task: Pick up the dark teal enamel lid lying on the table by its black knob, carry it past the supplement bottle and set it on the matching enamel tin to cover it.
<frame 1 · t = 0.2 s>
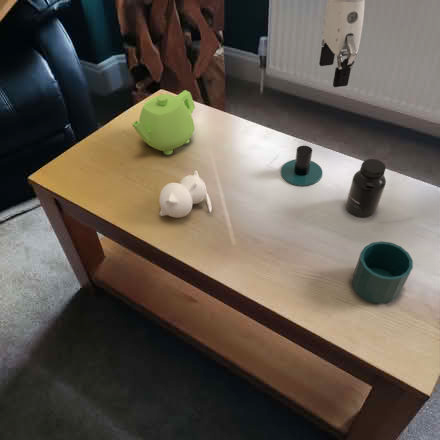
hand: (332, 75, 96), 19 cm above the table, tool pointing down, fingers open, 9 cm apart
teapot: (168, 142, 116), on the table
cat figurine: (187, 211, 100), on the table
lid: (301, 173, 105), point 1 cm above the table
supplement bottle: (360, 210, 98), on the table
tin: (376, 284, 84), on the table
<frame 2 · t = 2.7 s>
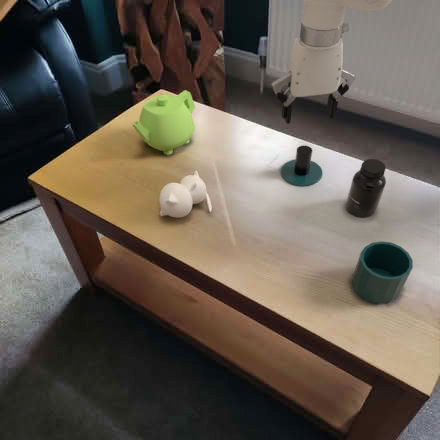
hand: (308, 117, 94), 15 cm above the table, tool pointing down, fingers open, 9 cm apart
nothing on the table moved.
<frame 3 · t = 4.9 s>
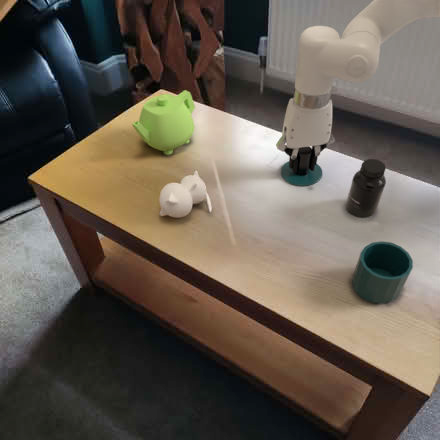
hand: (302, 167, 104), 2 cm above the table, tool pointing down, fingers closed on lid, 3 cm apart
lid: (301, 172, 105), point 1 cm above the table, touching gripper
everything else where it was.
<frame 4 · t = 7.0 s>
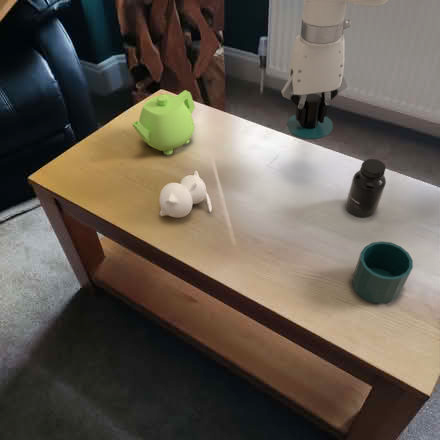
hand: (310, 120, 94), 15 cm above the table, tool pointing down, fingers closed on lid, 3 cm apart
lid: (309, 126, 95), point 13 cm above the table, touching gripper
everything else where it was.
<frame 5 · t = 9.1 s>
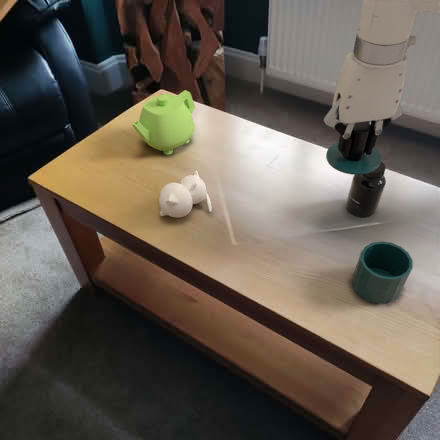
hand: (354, 151, 79), 19 cm above the table, tool pointing down, fingers closed on lid, 3 cm apart
lid: (353, 158, 81), point 18 cm above the table, touching gripper
everything else where it was.
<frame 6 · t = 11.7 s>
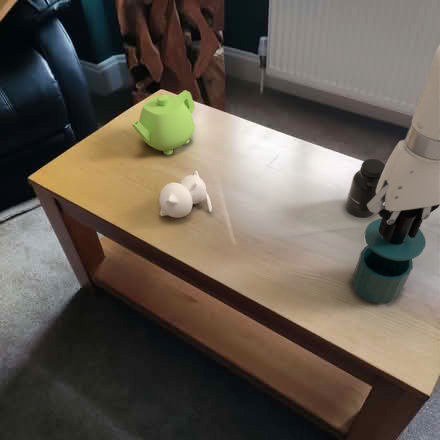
hand: (396, 233, 73), 14 cm above the table, tool pointing down, fingers closed on lid, 3 cm apart
lid: (394, 239, 74), point 13 cm above the table, touching gripper
everything else where it was.
when the fingers open (9 cm above the table, at t = 13.3 s): lid stays where it is, resting on tin.
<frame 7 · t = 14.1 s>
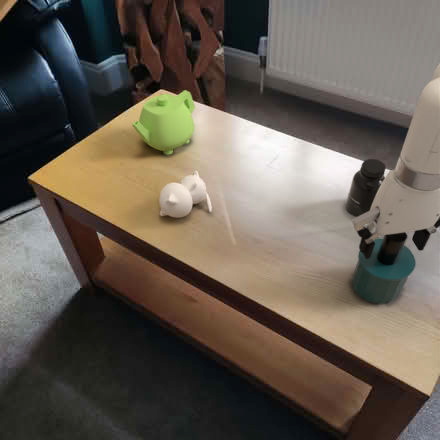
hand: (390, 249, 76), 10 cm above the table, tool pointing down, fingers open, 9 cm apart
lid: (386, 259, 79), point 7 cm above the table, touching tin
everything else where it was.
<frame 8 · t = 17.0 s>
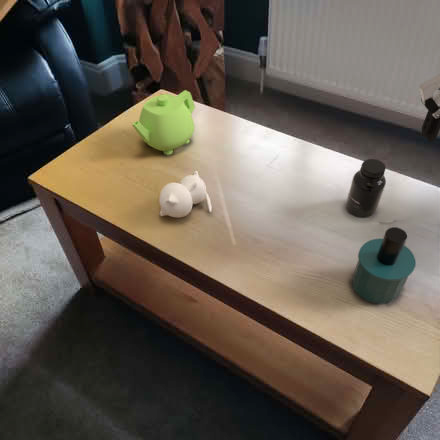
nothing on the table moved.
at the end: lid 0.1 cm off-centre on the tin, point 7.4 cm above the tin's base; lid tilted 0° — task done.
